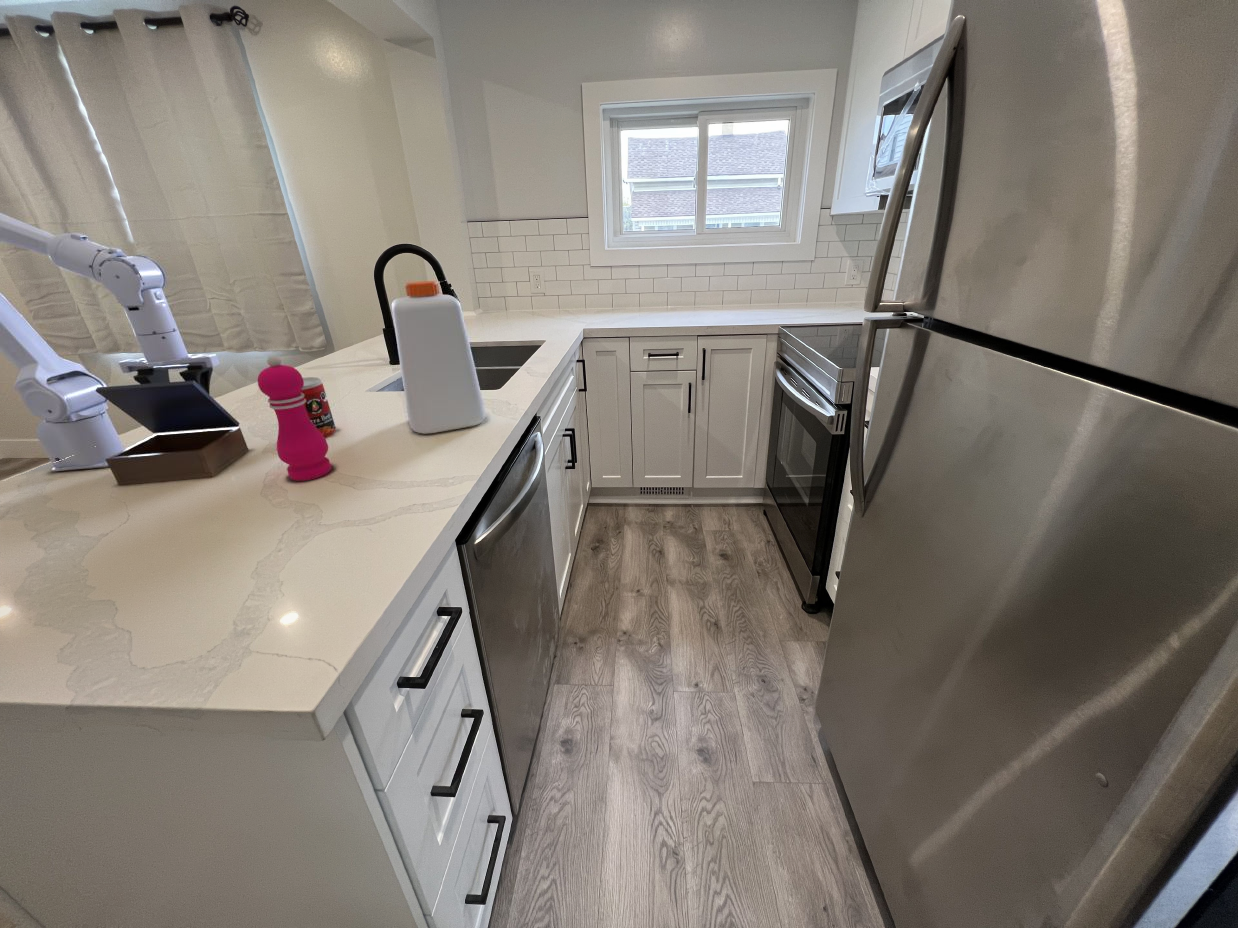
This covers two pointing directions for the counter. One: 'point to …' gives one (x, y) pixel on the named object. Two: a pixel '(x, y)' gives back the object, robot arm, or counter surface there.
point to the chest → (178, 456)
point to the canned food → (318, 406)
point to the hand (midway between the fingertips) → (188, 408)
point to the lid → (169, 406)
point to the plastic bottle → (436, 361)
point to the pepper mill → (294, 422)
